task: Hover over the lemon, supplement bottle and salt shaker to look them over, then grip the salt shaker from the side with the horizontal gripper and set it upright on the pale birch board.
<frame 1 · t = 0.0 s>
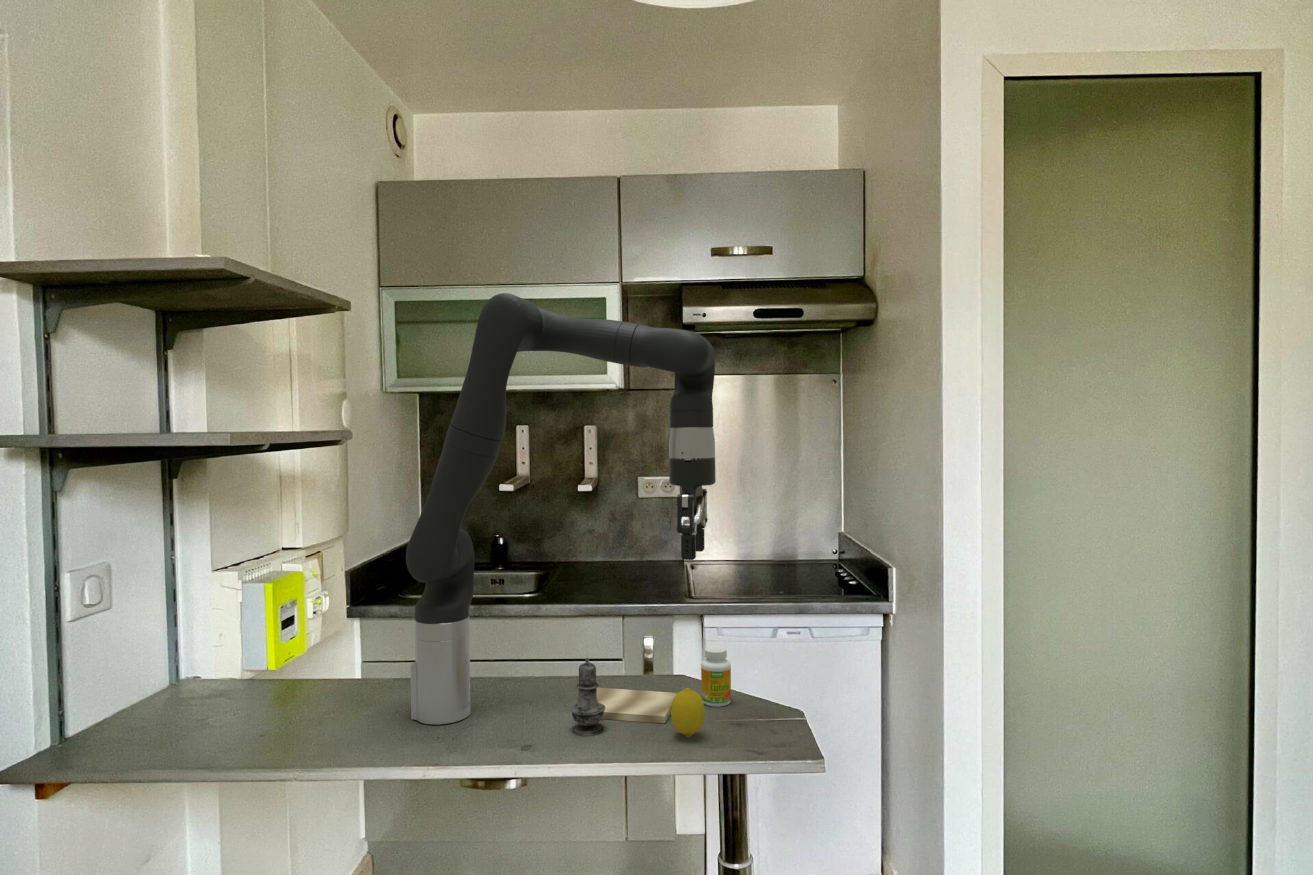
hand: (693, 555, 124), 29 cm above the table, tool pointing down, fingers open, 8 cm apart
lemon: (688, 738, 123), on the table
birch board: (628, 707, 137), on the table
salt shaker: (588, 730, 127), on the table
supplement bottle: (716, 703, 139), on the table
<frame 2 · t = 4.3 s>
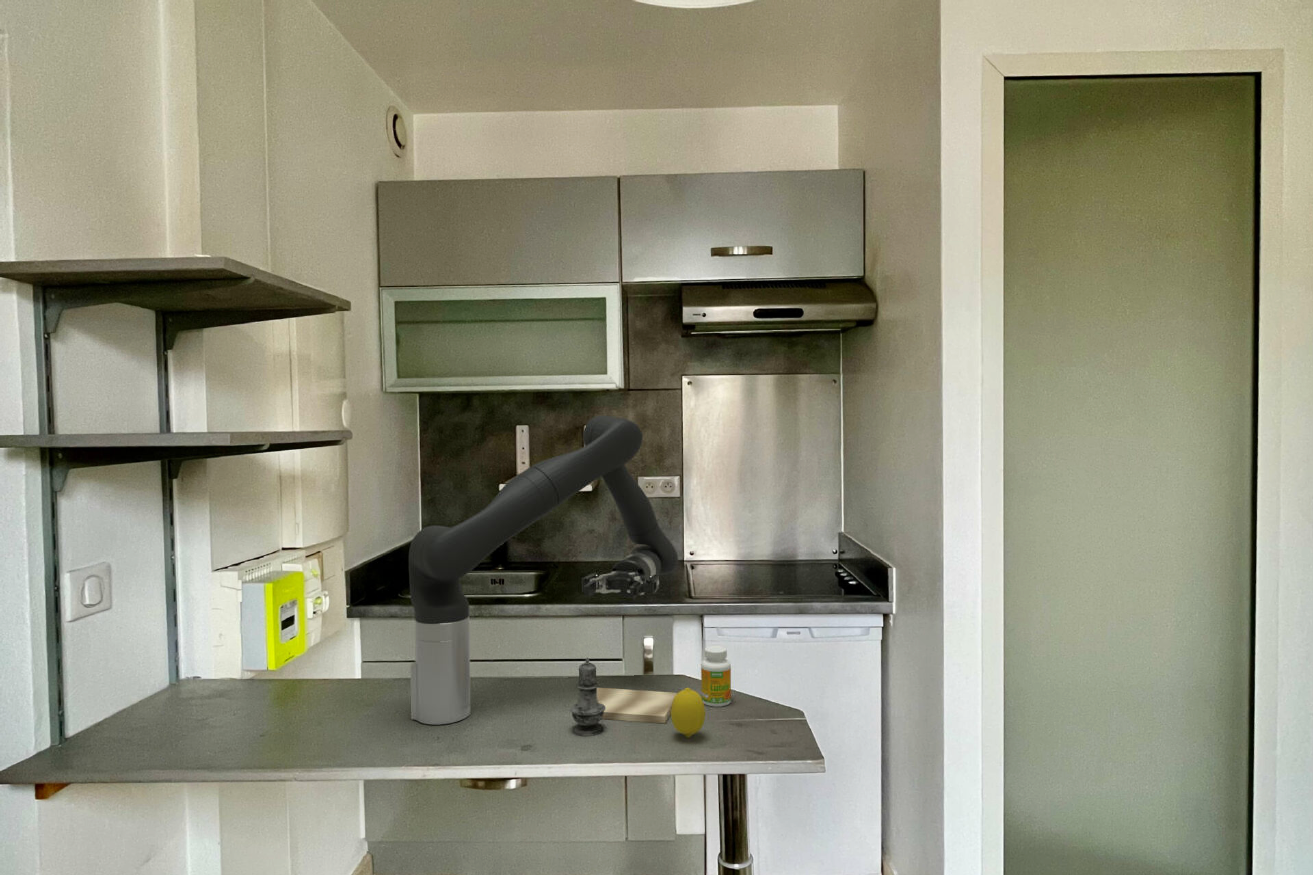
hand: (609, 591, 139), 20 cm above the table, tool horizontal, fingers open, 8 cm apart
nothing on the table moved.
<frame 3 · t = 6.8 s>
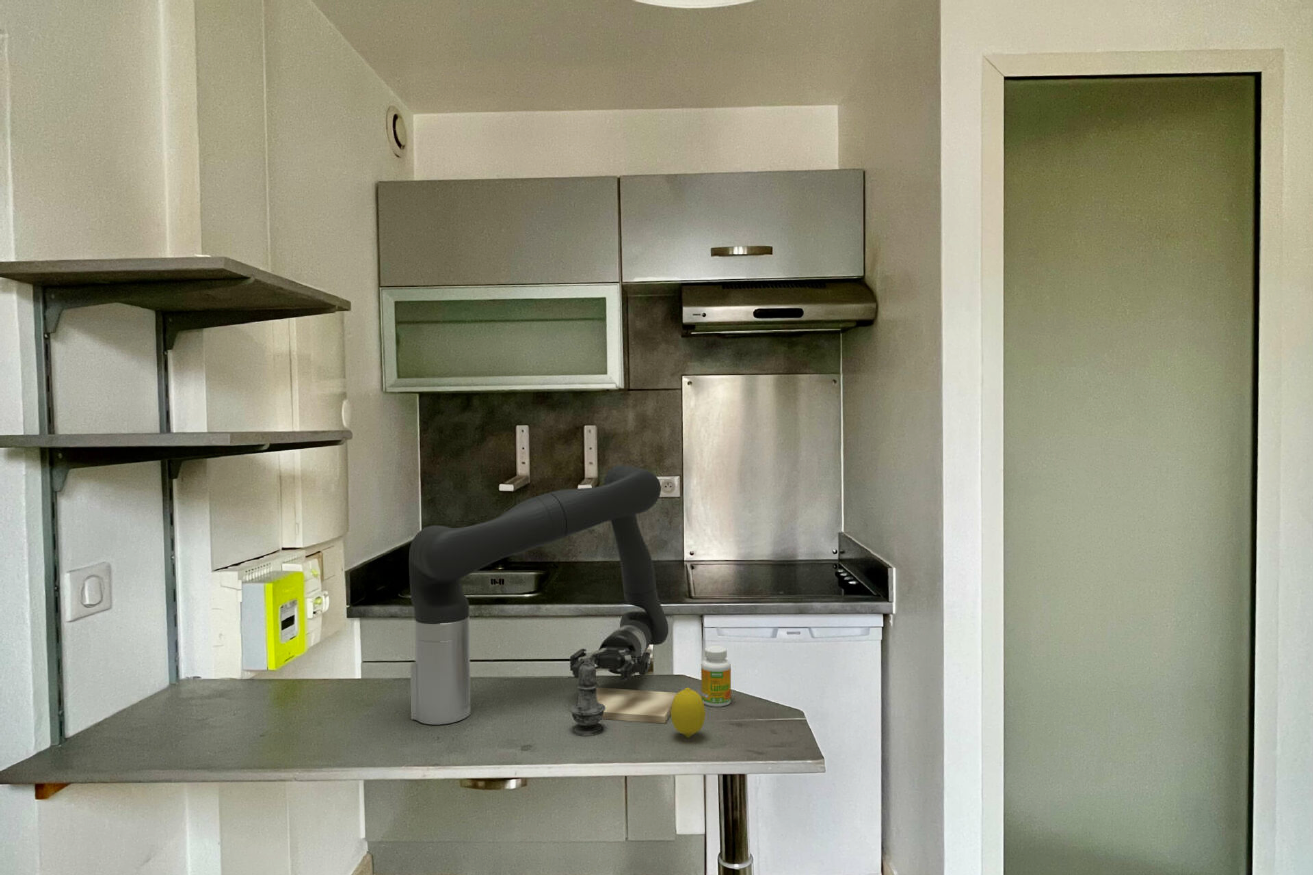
hand: (599, 673, 134), 7 cm above the table, tool horizontal, fingers open, 8 cm apart
nothing on the table moved.
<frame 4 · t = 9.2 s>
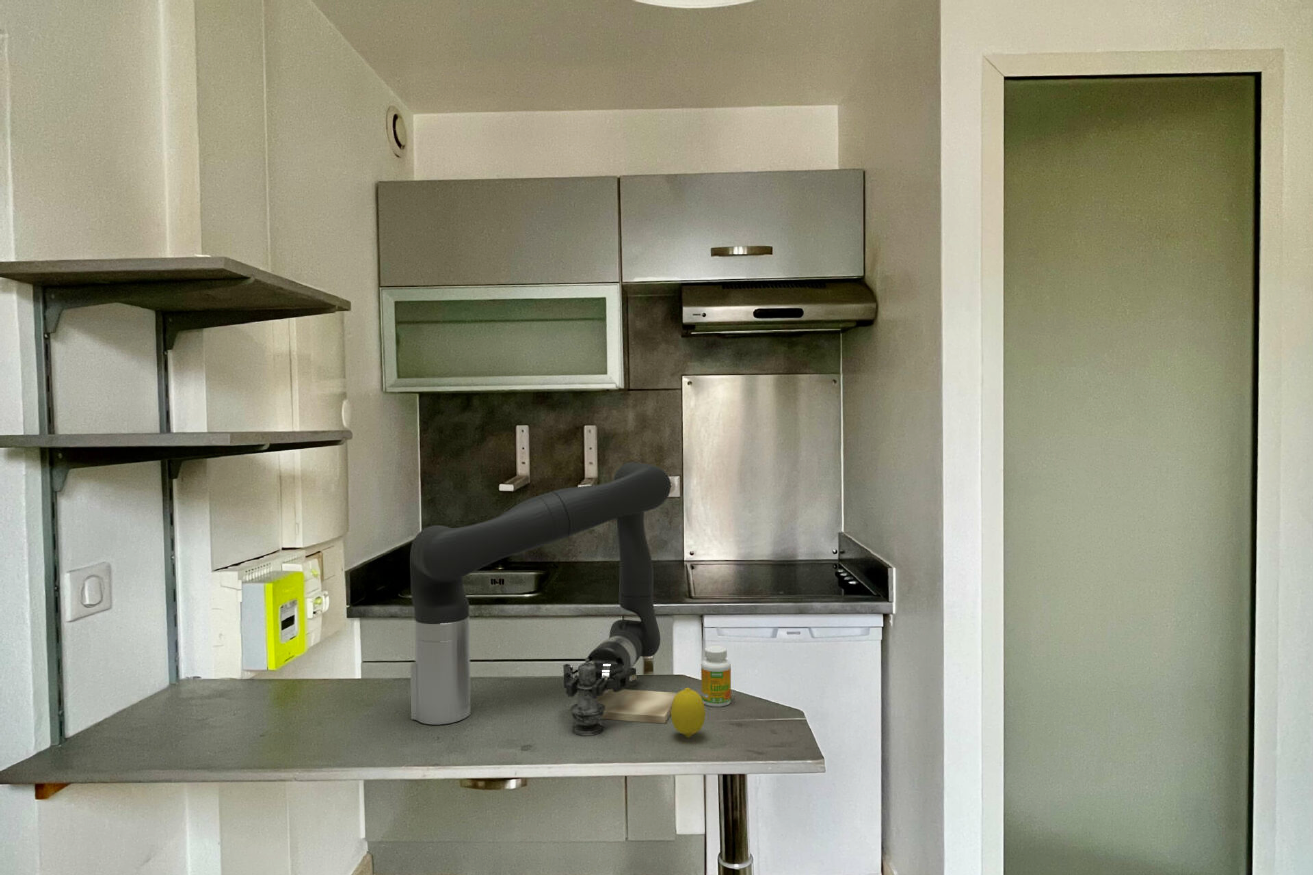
hand: (582, 691, 124), 7 cm above the table, tool horizontal, fingers closed on salt shaker, 3 cm apart
salt shaker: (588, 730, 127), on the table, touching gripper
everything else where it was.
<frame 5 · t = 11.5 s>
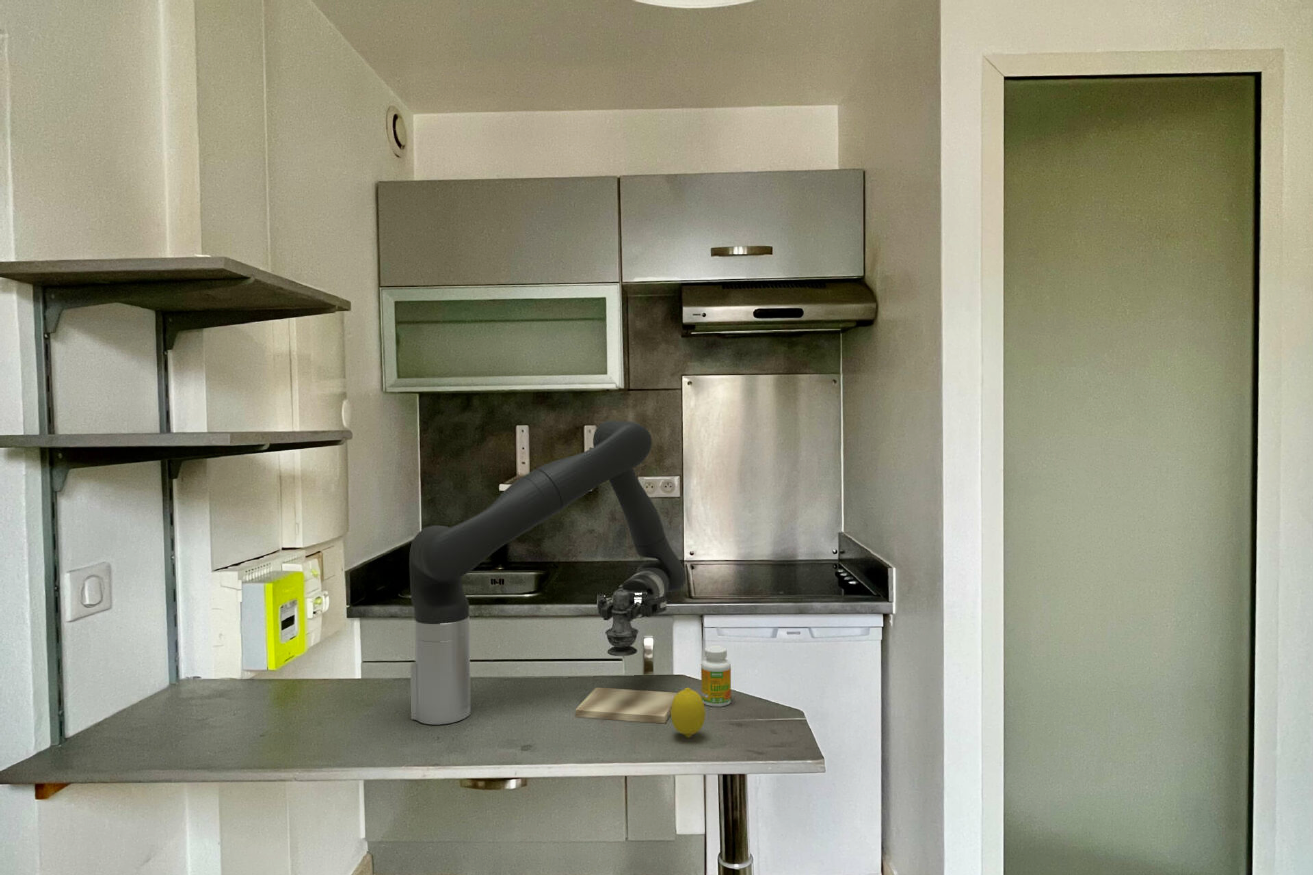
hand: (617, 614, 133), 18 cm above the table, tool horizontal, fingers closed on salt shaker, 3 cm apart
salt shaker: (622, 652, 135), point 10 cm above the table, touching gripper
everything else where it was.
when the fingers open (10 cm above the table, at t = 14.0 s): salt shaker drops 1 cm, resting on birch board.
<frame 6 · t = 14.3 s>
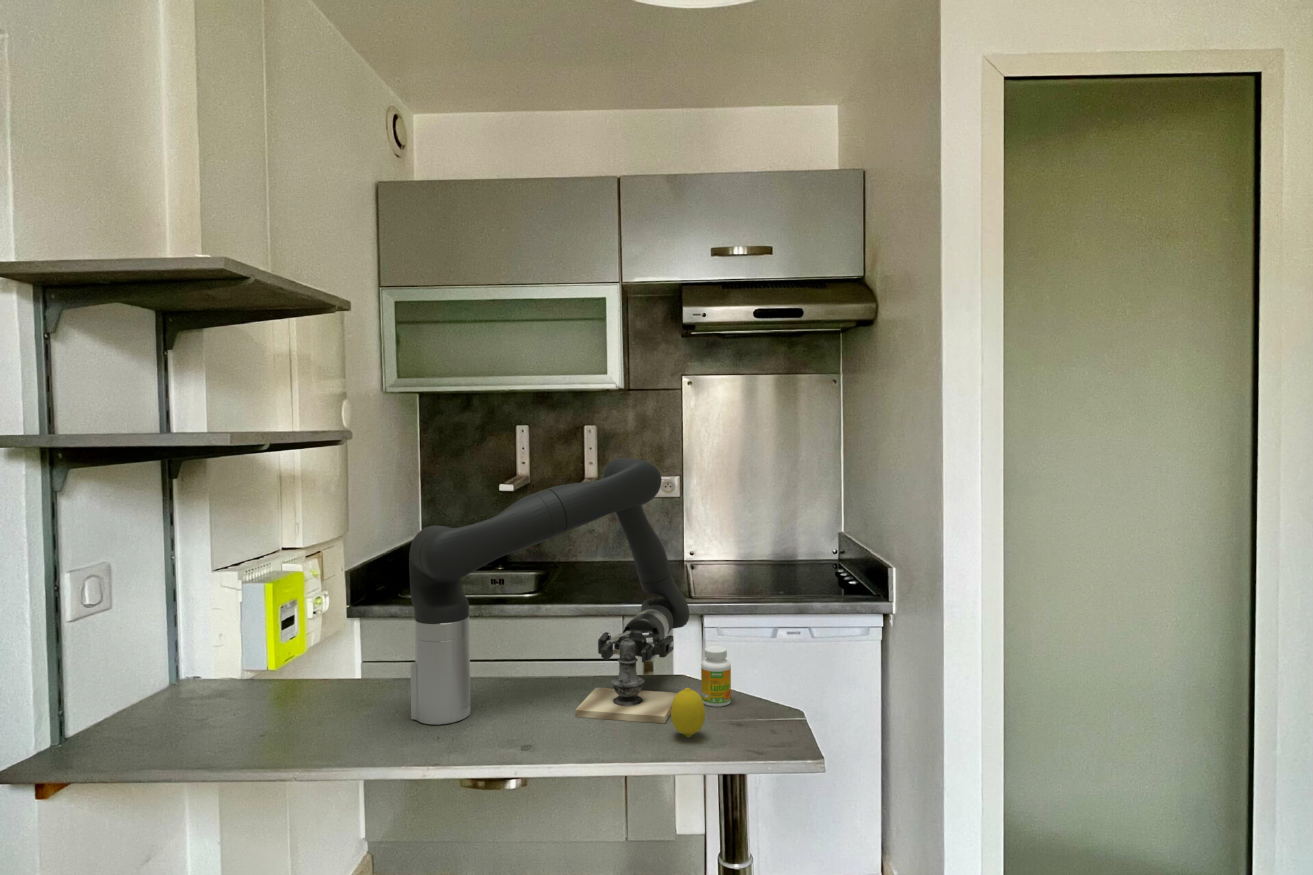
hand: (624, 655, 135), 10 cm above the table, tool horizontal, fingers open, 6 cm apart
salt shaker: (628, 701, 137), point 1 cm above the table, touching birch board
everything else where it was.
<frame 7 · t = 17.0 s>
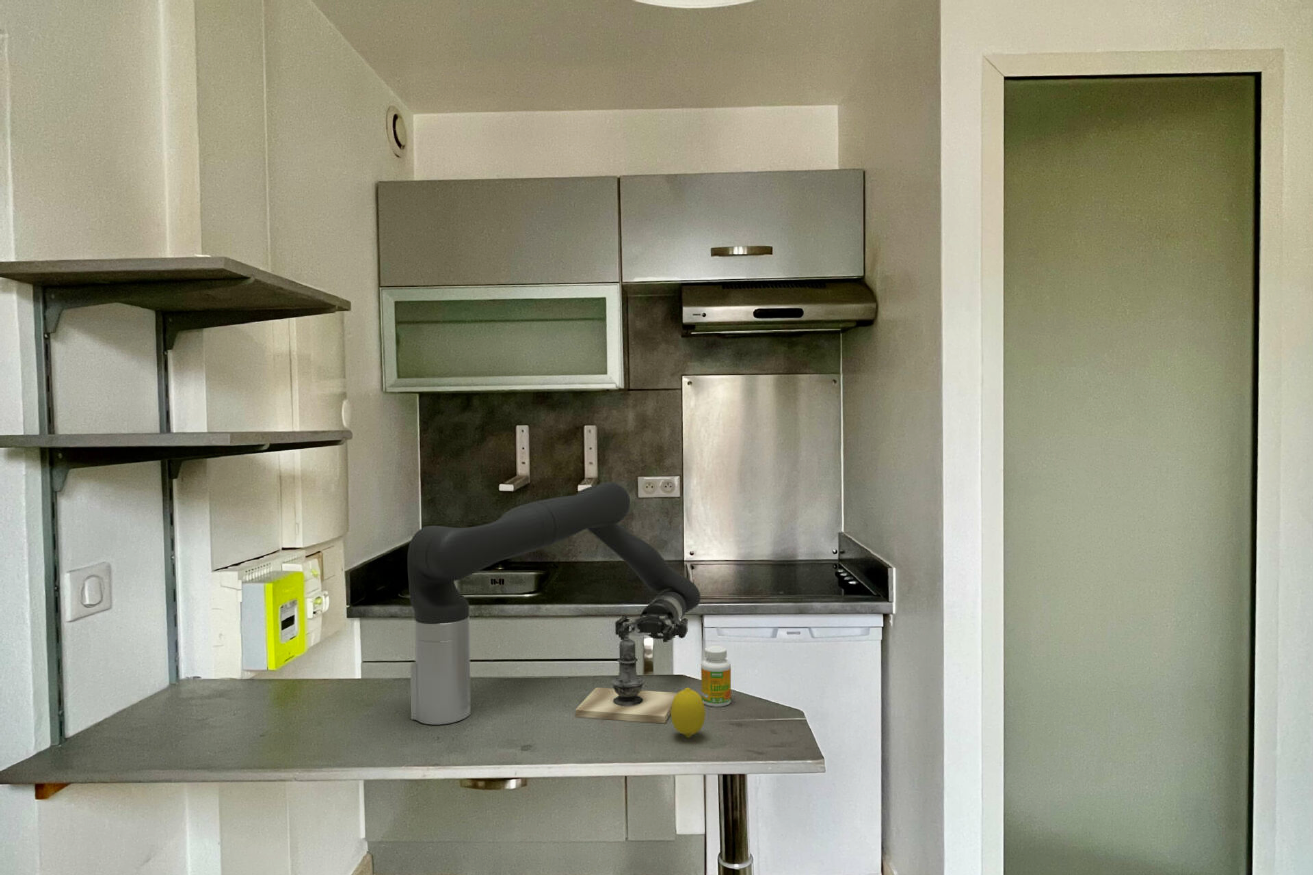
hand: (643, 635, 148), 10 cm above the table, tool horizontal, fingers open, 8 cm apart
nothing on the table moved.
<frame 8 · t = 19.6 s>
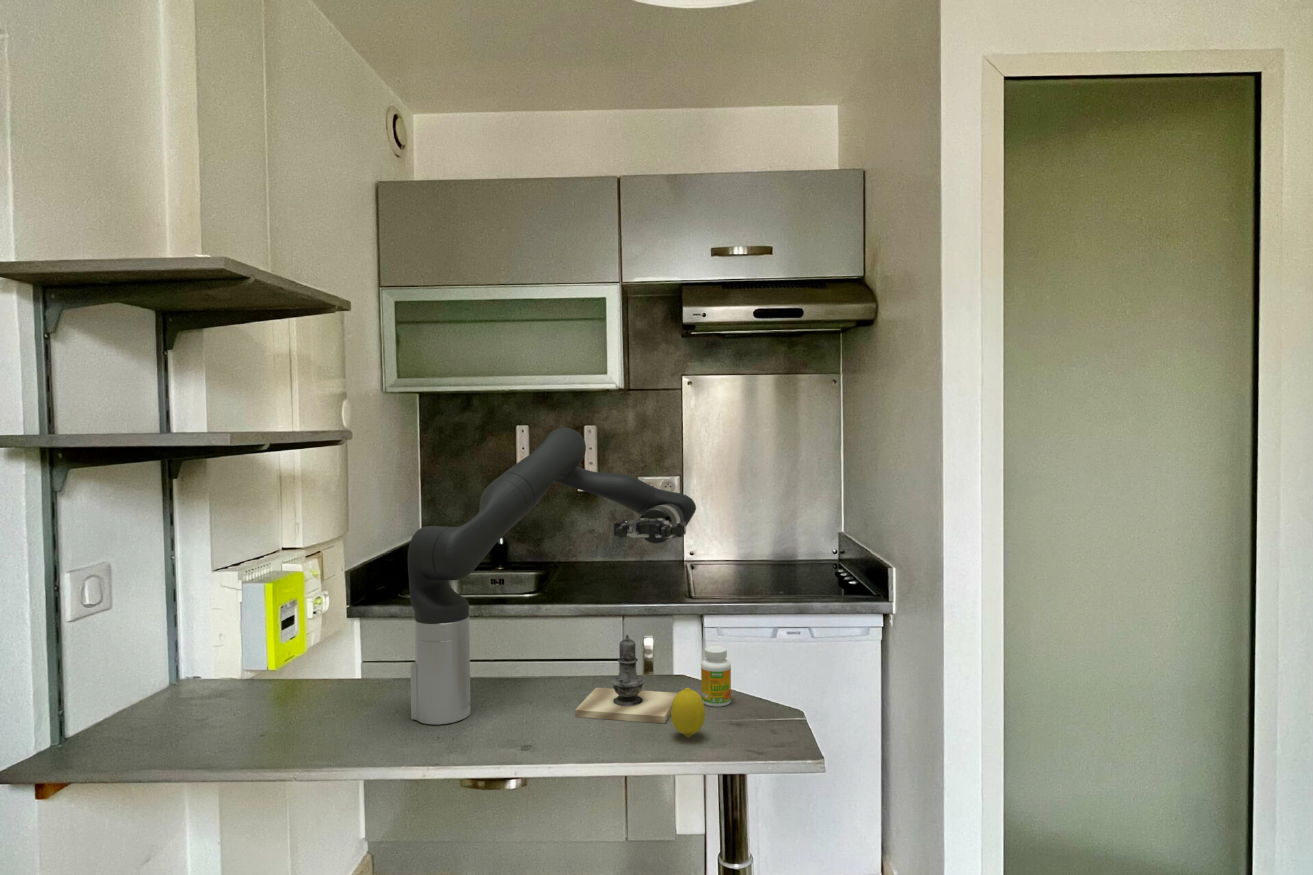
hand: (641, 533, 148), 30 cm above the table, tool horizontal, fingers open, 8 cm apart
nothing on the table moved.
at the end: salt shaker inside the target area on the birch board (0.1 cm from its centre), point 1.0 cm above the birch board's base; salt shaker tilted 0°; the gripper is holding nothing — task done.
